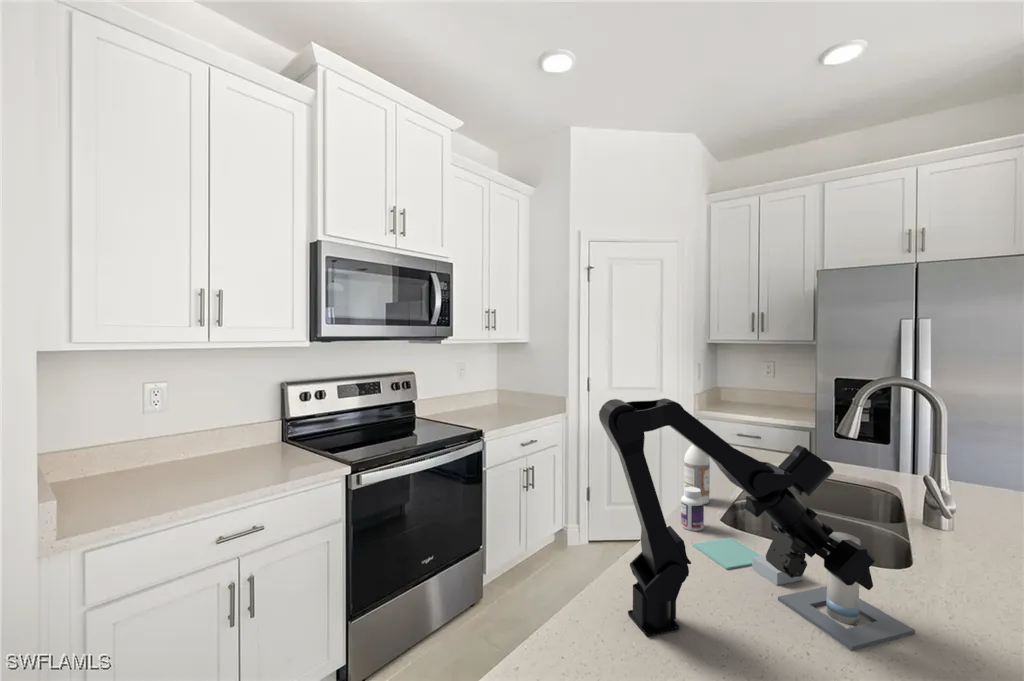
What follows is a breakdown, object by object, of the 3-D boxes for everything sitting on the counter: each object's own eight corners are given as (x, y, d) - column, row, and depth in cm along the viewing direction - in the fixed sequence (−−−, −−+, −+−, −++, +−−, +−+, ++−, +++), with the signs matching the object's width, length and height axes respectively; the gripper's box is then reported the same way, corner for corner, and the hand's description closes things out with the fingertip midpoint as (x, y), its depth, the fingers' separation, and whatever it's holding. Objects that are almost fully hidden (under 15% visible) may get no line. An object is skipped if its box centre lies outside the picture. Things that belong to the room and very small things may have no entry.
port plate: (851, 650, 73) (851, 646, 73) (777, 599, 86) (777, 596, 86) (914, 633, 76) (915, 629, 76) (834, 587, 90) (834, 584, 90)
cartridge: (845, 626, 78) (846, 545, 78) (819, 610, 83) (821, 533, 82) (865, 621, 80) (867, 542, 79) (839, 605, 84) (841, 530, 84)
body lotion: (703, 507, 129) (703, 437, 129) (679, 500, 134) (680, 433, 134) (713, 500, 134) (713, 433, 134) (690, 494, 139) (690, 429, 139)
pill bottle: (705, 525, 118) (705, 488, 118) (701, 533, 113) (701, 494, 113) (683, 520, 121) (683, 484, 121) (678, 528, 116) (679, 490, 116)
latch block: (777, 585, 91) (777, 572, 91) (752, 569, 97) (752, 557, 97) (802, 580, 93) (802, 567, 92) (776, 564, 99) (776, 553, 98)
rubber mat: (726, 569, 97) (726, 567, 97) (692, 545, 107) (692, 543, 107) (768, 561, 100) (768, 560, 100) (731, 539, 110) (731, 537, 110)
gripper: (729, 523, 89) (784, 577, 90) (791, 574, 71) (859, 642, 72) (768, 482, 90) (823, 536, 90) (841, 522, 71) (909, 590, 72)
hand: (849, 573), depth 81 cm, fingers open, 9 cm apart
